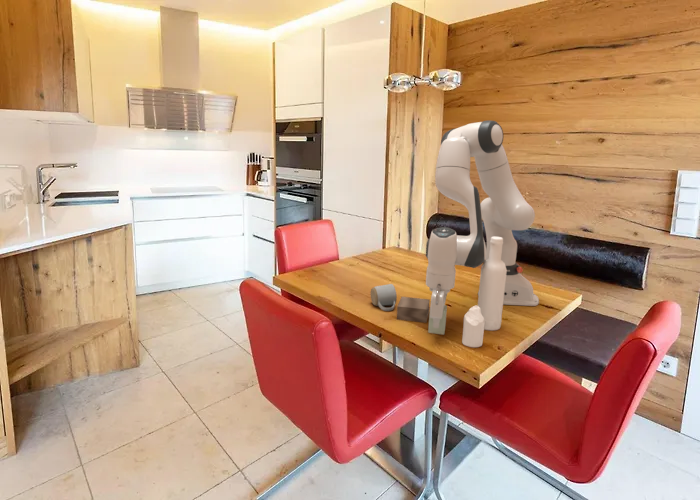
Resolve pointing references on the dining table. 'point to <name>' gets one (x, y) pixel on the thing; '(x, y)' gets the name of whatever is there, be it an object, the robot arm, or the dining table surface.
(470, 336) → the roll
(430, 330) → the sage block
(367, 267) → the dining table surface
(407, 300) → the walnut block
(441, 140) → the robot arm
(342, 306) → the dining table surface
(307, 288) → the dining table surface
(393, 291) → the ceramic mug
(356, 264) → the dining table surface
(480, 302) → the bottle
